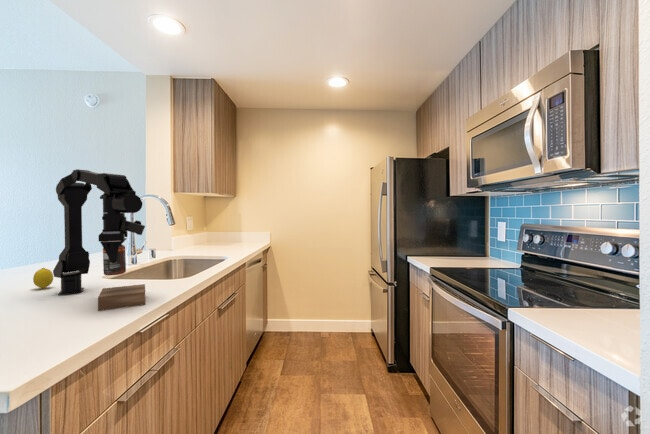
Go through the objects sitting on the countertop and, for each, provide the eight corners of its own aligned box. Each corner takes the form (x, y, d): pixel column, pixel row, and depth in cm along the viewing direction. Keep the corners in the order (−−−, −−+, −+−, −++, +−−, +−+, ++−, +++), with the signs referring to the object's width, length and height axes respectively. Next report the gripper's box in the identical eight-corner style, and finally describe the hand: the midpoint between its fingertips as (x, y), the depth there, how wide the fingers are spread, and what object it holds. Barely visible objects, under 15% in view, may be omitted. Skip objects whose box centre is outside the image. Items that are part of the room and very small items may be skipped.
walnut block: (102, 300, 100) (102, 288, 100) (145, 295, 106) (145, 284, 106) (97, 311, 89) (97, 297, 89) (145, 304, 95) (144, 292, 95)
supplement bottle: (122, 271, 101) (121, 237, 101) (128, 273, 98) (128, 238, 97) (100, 274, 97) (100, 239, 97) (106, 276, 93) (105, 240, 93)
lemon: (50, 286, 118) (49, 265, 117) (55, 288, 115) (55, 267, 115) (31, 289, 113) (30, 268, 113) (36, 291, 110) (36, 269, 110)
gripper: (142, 212, 93) (143, 263, 93) (143, 213, 109) (144, 256, 109) (97, 213, 87) (98, 266, 87) (105, 213, 103) (106, 258, 104)
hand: (114, 261), depth 97 cm, fingers closed on supplement bottle, 6 cm apart
